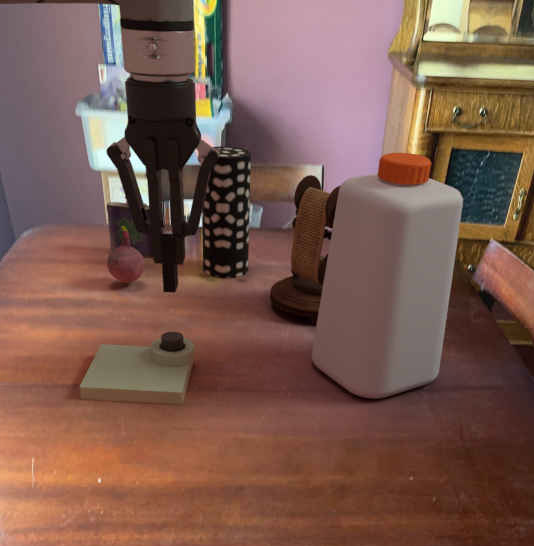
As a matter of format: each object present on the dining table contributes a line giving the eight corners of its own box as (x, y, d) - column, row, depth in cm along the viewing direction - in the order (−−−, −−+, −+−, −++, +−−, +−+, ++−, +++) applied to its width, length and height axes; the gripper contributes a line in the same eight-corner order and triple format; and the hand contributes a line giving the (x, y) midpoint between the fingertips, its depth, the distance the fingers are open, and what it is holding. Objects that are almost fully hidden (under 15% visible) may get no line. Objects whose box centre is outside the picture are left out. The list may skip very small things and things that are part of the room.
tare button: (159, 352, 91) (159, 340, 90) (163, 342, 93) (162, 330, 92) (182, 353, 91) (181, 341, 90) (185, 343, 93) (184, 332, 92)
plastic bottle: (449, 382, 94) (500, 166, 77) (364, 408, 87) (398, 179, 70) (380, 338, 104) (411, 139, 87) (299, 359, 97) (315, 148, 81)
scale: (80, 399, 86) (77, 375, 84) (103, 354, 96) (100, 332, 94) (185, 405, 86) (185, 381, 84) (197, 359, 96) (196, 337, 94)
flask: (108, 252, 129) (103, 193, 122) (115, 247, 131) (110, 189, 125) (154, 258, 127) (151, 199, 121) (160, 253, 130) (157, 195, 123)
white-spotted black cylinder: (194, 267, 125) (190, 149, 113) (229, 258, 129) (230, 144, 117) (221, 281, 120) (220, 160, 108) (257, 271, 124) (261, 154, 112)
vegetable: (153, 284, 117) (150, 226, 111) (128, 295, 113) (123, 235, 107) (127, 276, 120) (122, 218, 114) (102, 286, 116) (96, 227, 110)
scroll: (251, 303, 113) (255, 176, 101) (314, 283, 121) (324, 163, 109) (313, 334, 104) (325, 200, 92) (376, 311, 112) (395, 184, 100)
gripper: (90, 78, 70) (114, 297, 84) (217, 83, 69) (218, 302, 84) (107, 69, 76) (126, 275, 90) (223, 74, 75) (224, 279, 90)
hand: (170, 288), depth 87 cm, fingers closed
